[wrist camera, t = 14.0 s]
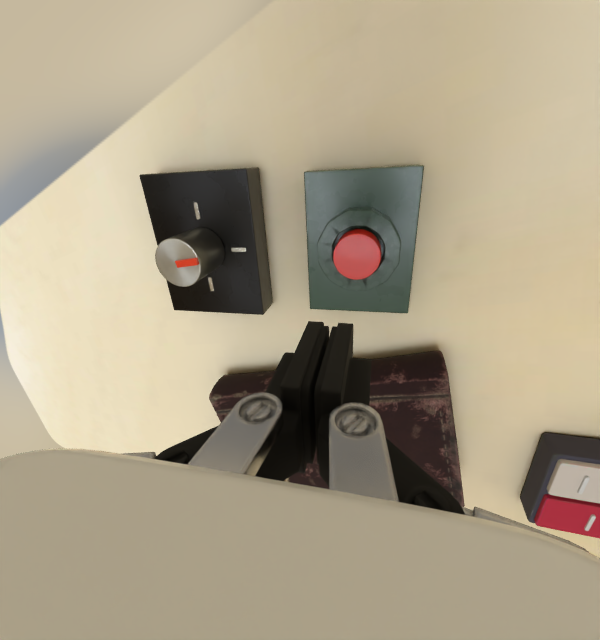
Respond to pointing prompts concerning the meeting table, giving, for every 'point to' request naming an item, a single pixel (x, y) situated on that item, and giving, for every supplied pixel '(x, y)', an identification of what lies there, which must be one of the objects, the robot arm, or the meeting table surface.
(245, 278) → the knob base
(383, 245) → the button base
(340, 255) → the button
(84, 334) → the meeting table surface
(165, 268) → the hob knob
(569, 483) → the calculator
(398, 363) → the diary
